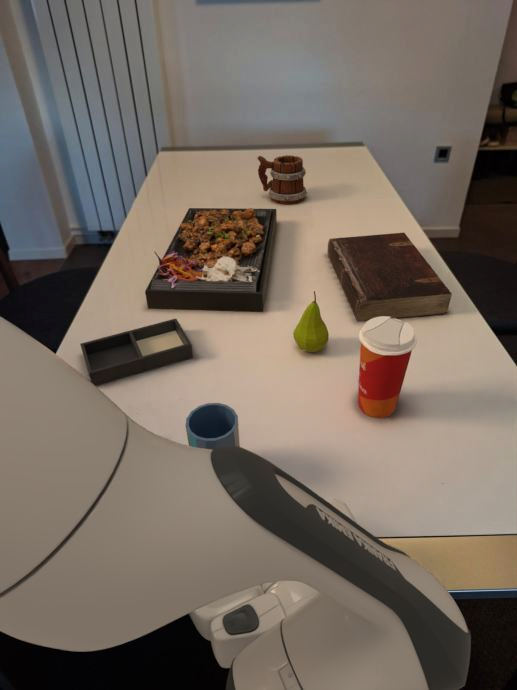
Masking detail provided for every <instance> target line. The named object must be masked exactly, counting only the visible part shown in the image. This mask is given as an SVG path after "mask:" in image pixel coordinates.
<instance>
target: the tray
mask: <svg viewBox="0 0 517 690" xmlns="http://www.w3.org/2000/svg"><path fill="white" fill-rule="evenodd" d="M79 345H80V348H81V352H82V355H83V359H84V364H85V367H86V370H87V372H88V377H89V381H90V382H91V383H93V384H94V385H95V386H96V387H97V386H102V385H105V384H108V383H111V382H115V381H118V380H121V379H125V378H129V377H132V376H135V375H138V374H142V373H145V372H150V371H153V370H155V369H160V368H163V367H166V366H169V365H172V364H177V363H180V362H184V361H186V360H189V359H190V360H191V359H194V353H193V352H194V351H193V344H192V342H191V341H190V339H189V337H188V336H187V334H186V333H185V331H184V329H183V327H182V325H181V323H180V322H179V321H178V319H177V318H172V319H168V320H165V321H160V322H158V323H153V324H149V325H145V326H141V327H137V328H134V329H130V330H126V331H123V332H119V333H115V334H111V335H108V336H107V335H106V336H103V337H101V338H96V339H92V340H88V341H84V342H81V343H79Z"/></svg>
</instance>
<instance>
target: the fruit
mask: <svg viewBox="0 0 517 690" xmlns="http://www.w3.org/2000/svg"><path fill="white" fill-rule="evenodd" d="M313 296H314V298H313V301H311V303H309V304H308V305H307V307H306V308H305V310H304V311H303V313H302V315H301V317H300V319H299V321H298V323H297V324H296V327H295V328H294V330H293V333H292V334H293V339H294V341H295V343H296V345H297V347H298V348H299V349H301V350H303V351H305V352H309V353H315V352H318V351H321V350H323V349H325V347H326V345H327V343H328V341H329V330H328V327H327V325H326V323H325V322H324V320H323V318H322V316H321V309H320V306H319V305H318V302H317V296H316V291H315V290H314V291H313Z"/></svg>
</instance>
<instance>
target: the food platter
mask: <svg viewBox="0 0 517 690" xmlns="http://www.w3.org/2000/svg"><path fill="white" fill-rule="evenodd" d="M277 215H278V214H277V208H253V207H248V208H234V207H233V208H226V207H225V208H224V207H222V208H221V207H220V208H218V207H188V209H187V211H186V213H185V215H184V217H183V219H182V220H181V223H180V225H179V226H178V228H177V229H176V230H177V231H176V232H175V234H174V235H173V237H172V240H171V241H170V243H169V245H168V246H167V249H166V251H165V253H164V255H163V257H162V258H160V256H159V255H158V253H157V252H156V251H155V250H153V252H154V254H155V255H156V257H157V259H158V263H159V264H158V265H157V267H156V269H155V271H154V273H153V275H152V277H151V280H150V281H149V283H148V285H147V287H146V289H145V291H144V294H145V297H146V299H145V300H146V305H147V309H148V310H175V311H180V310H181V311H211V312H213V311H214V312H215V311H216V312H251V313H253V312H255V313H264V309H265V302H266V295H267V289H268V284H269V283H268V281H269V276H270V270H271V263H272V257H273V249H274V243H275V237H276V232H277V223H278V221H277V219H278V217H277Z"/></svg>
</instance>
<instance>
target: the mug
mask: <svg viewBox="0 0 517 690" xmlns="http://www.w3.org/2000/svg"><path fill="white" fill-rule="evenodd" d="M257 160H258V162H259V165H258V168H257V175H258V178H259V181H260V183H261V185H262V188H263V189H262V190H263V191H264V192H268V195H269V197H270V200H271V201H272V202H273V203H277V204H281V205H295V204H299V203H301V202H303V201H304V200H305V198H306V196H307V194H308V191H307V188H306V187H305V186H304V178H305V175H306V174H307V171H306V169H305V167H304V160H303V158H302V157H300V156H298V155H290V154H289V155H282V156H281V155H280V156H277V157H275V158H274V159H273V161H269V160H267V159H266V157H264V156H262V155H259V156H257ZM267 169H270V172H269V175H270V176H271V178H272V179H271V180H269V181H268V179H269V177H268V175H267V174H266V172H267Z"/></svg>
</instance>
